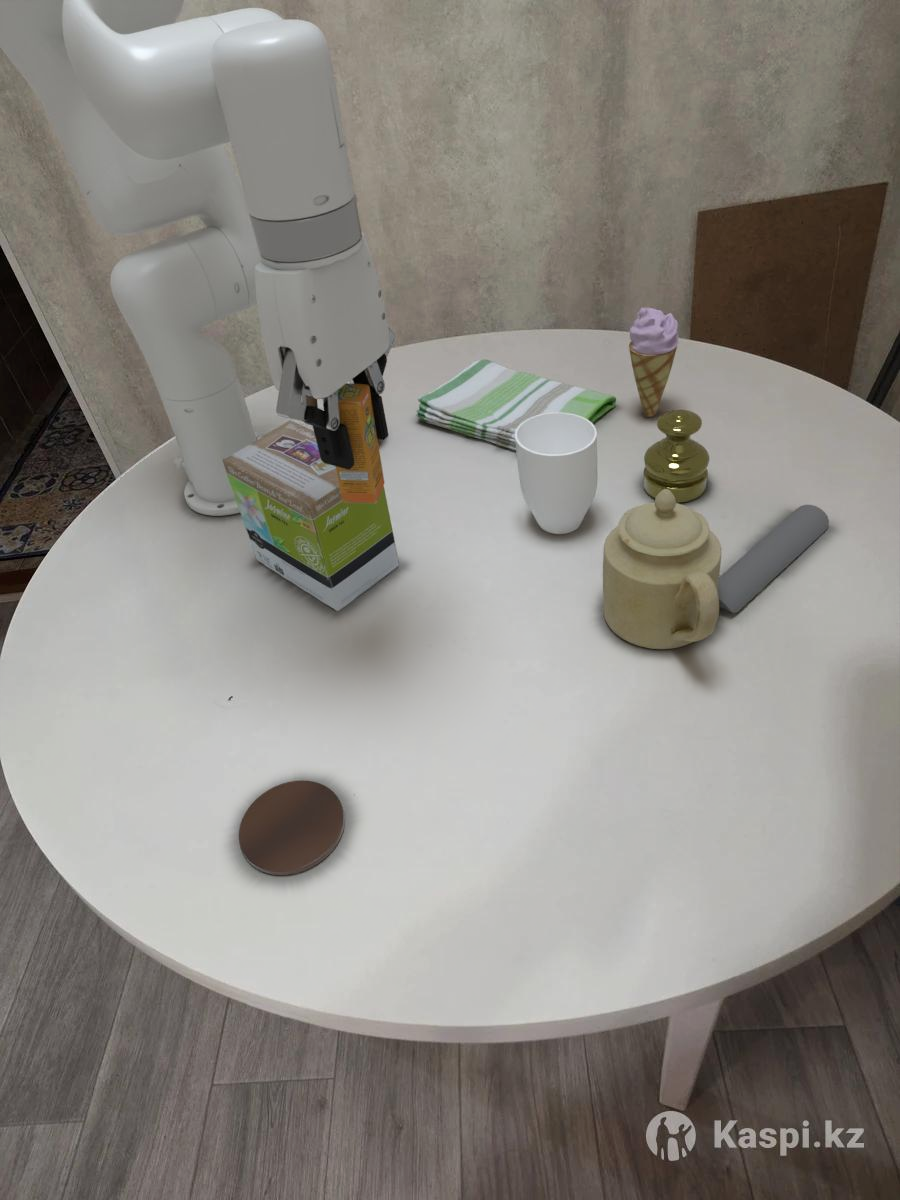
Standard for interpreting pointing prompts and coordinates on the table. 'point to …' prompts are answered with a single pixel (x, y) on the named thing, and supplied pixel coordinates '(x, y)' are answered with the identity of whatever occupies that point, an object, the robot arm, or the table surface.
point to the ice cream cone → (652, 355)
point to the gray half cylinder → (770, 557)
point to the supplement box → (360, 446)
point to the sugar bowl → (661, 575)
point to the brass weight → (677, 458)
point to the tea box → (309, 518)
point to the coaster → (291, 827)
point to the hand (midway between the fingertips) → (355, 447)
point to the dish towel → (504, 402)
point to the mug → (557, 468)
